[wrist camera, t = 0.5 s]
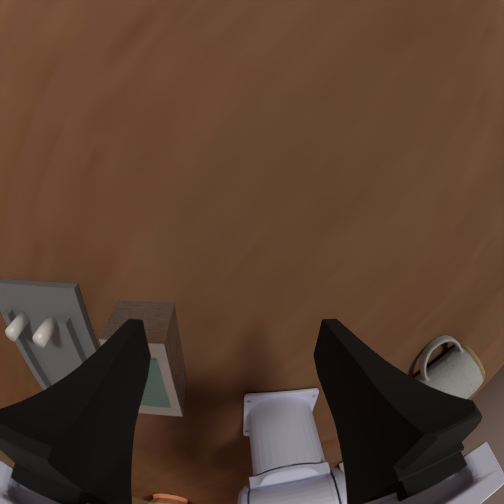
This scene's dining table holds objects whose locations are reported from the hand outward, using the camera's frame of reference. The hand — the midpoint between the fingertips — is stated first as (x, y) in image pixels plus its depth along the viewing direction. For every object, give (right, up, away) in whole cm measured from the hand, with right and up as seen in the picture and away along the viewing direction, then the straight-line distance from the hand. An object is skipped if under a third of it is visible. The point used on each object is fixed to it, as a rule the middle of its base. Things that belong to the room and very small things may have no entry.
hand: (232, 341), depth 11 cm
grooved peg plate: (-20, -8, +13) cm, 25 cm away
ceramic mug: (+25, -10, +18) cm, 32 cm away
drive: (-8, -4, +12) cm, 15 cm away
